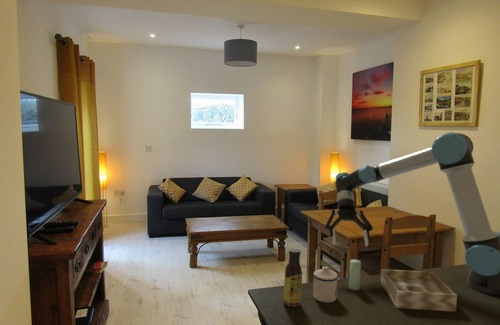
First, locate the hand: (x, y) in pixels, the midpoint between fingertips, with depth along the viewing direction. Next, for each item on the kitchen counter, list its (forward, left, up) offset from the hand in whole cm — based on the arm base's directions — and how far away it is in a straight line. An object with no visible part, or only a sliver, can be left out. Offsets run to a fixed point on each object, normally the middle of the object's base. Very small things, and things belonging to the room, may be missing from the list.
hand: (350, 244), depth 146 cm
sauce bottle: (+25, +26, -15) cm, 39 cm away
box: (-22, +14, -14) cm, 30 cm away
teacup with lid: (+13, +18, -15) cm, 27 cm away
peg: (0, +10, -14) cm, 18 cm away
